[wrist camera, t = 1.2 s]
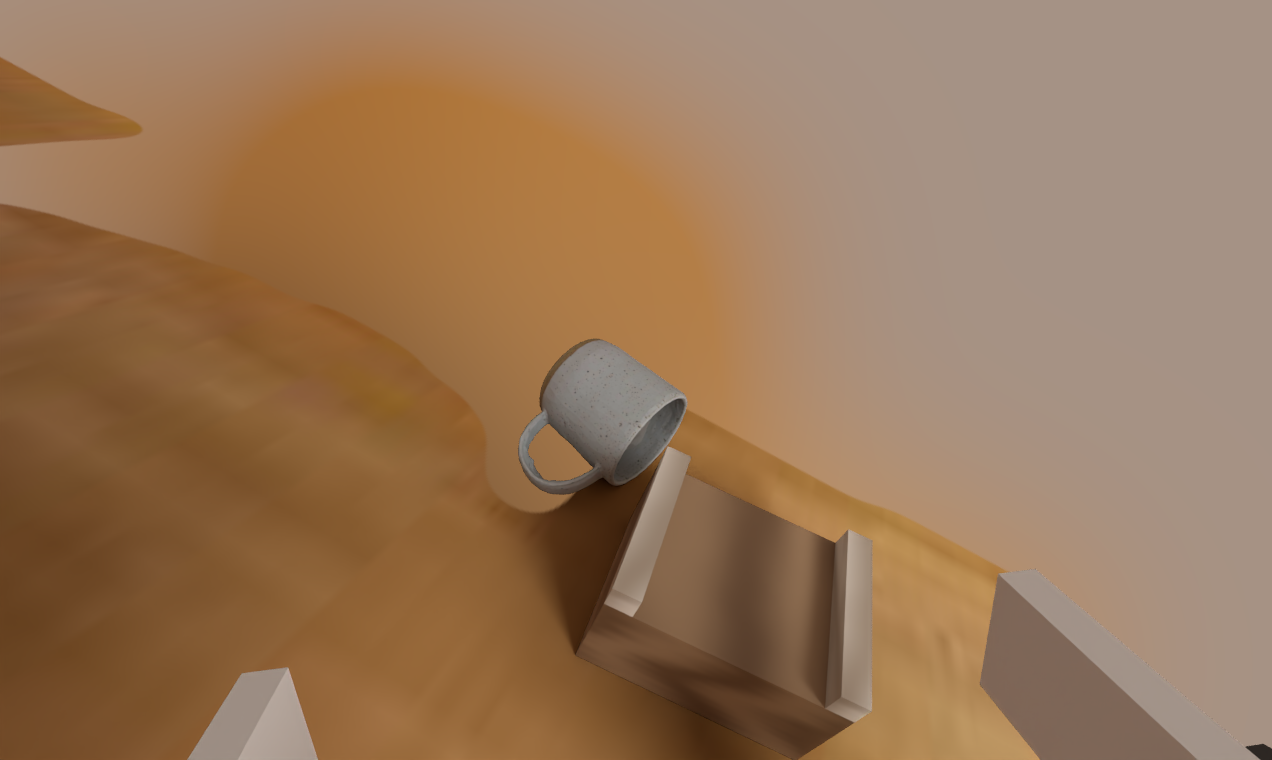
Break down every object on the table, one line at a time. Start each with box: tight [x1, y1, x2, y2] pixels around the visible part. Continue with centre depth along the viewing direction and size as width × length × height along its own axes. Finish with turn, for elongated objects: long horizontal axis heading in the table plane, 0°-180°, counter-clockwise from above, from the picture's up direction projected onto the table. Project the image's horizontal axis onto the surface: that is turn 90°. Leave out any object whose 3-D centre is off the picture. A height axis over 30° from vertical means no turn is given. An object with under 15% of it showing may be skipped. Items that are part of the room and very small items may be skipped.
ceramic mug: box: [518, 339, 687, 494], centre depth 41 cm, size 11×8×8 cm
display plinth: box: [576, 446, 872, 760], centre depth 34 cm, size 13×10×8 cm
